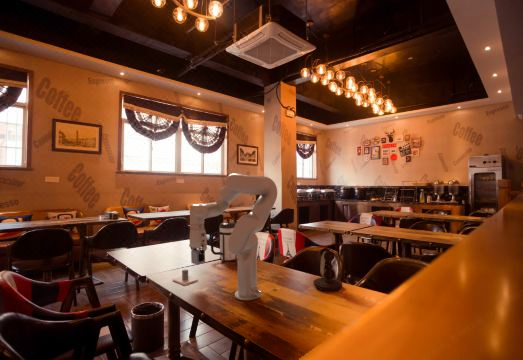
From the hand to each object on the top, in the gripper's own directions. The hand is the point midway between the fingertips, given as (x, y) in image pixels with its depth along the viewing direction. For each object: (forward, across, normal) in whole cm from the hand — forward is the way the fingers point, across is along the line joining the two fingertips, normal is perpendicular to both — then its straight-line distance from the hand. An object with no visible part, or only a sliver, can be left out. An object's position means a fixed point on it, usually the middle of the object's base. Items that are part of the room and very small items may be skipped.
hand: (198, 259), depth 153 cm
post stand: (+14, +13, 0) cm, 19 cm away
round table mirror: (+16, -54, -43) cm, 71 cm away
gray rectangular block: (+2, 0, 0) cm, 2 cm away
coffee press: (+14, +26, -43) cm, 52 cm away
